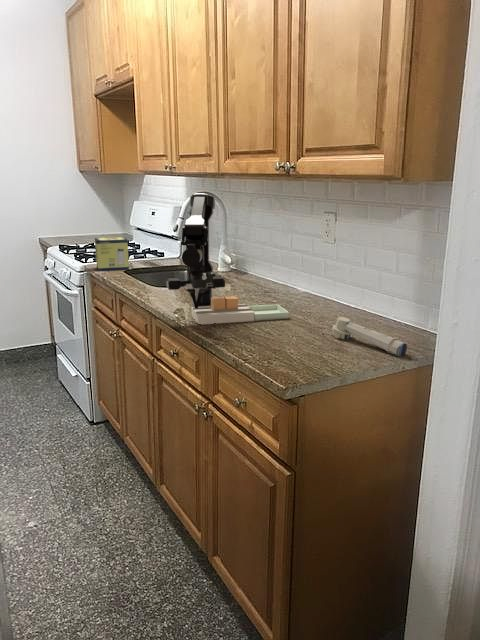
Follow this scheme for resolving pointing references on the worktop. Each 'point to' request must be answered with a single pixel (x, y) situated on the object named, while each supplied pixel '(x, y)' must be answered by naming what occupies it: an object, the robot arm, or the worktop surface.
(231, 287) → the worktop surface
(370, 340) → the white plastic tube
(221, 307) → the orange-brown cube
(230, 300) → the orange cube
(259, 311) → the tray
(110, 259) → the protein box
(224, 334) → the worktop surface
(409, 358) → the worktop surface
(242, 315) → the slot board
